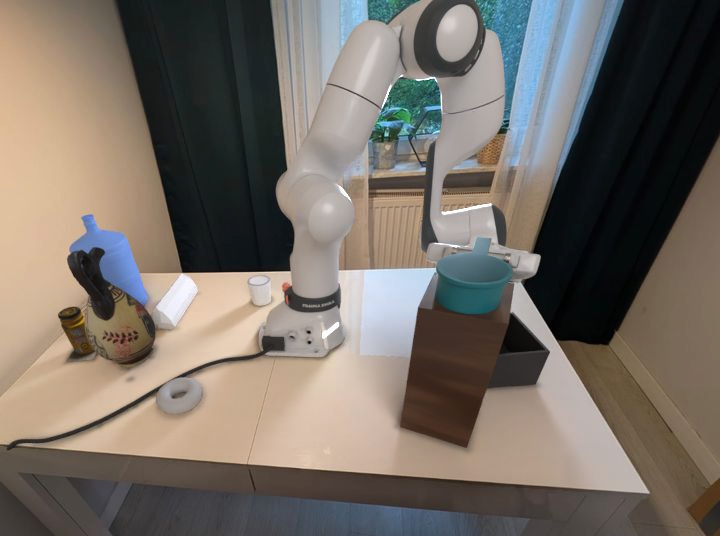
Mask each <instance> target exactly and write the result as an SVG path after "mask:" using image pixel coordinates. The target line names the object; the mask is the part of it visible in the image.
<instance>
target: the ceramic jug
mask: <svg viewBox="0 0 720 536" xmlns="http://www.w3.org/2000/svg"><path fill="white" fill-rule="evenodd" d="M104 254H105V251H104V249H102V248H98V247H93V248H92V249H91V250H90V251H89V253H86V252H85V251H83V250H80V251H74V252H72V253H70V254H68V255H67V258H66V261H67V265H68V269H69V270H70V272H71V275H72V276H73V278H74V279H75V281H76V282H78V284H79V286H81V288H82V289H83V290H84V291H85V292H86V293H87V295H88V297H87V300H86V306H85V312H84V316H85V319H84V324H85V331H86V335H87V338H88V341H89V343H90V345H91V347H92V348H93V350H94V351H95V352H96V353H97V354H96V355H98V356H100V357H101V358H103V359H105V360H106V361H111V362H113V363H116V364H118V365H119V366H121V367H123V368H125V369H126V368H127V369H128V368H132V367H135V366H138V365H140V364H142V363H144V362H146V361H147V360H148V359H150V358H151V356H152V355H153V352H154V348H153V346H154V344H155V340H156V336H157V332H156V331H157V329H156V328H155V324H154V321H153V319H152V317H151V313H150V312H149V311H148V309H146V307H145V305H144V306H143V305H142V304H141V303H140V302H139V301H138V300H136V299H135V298H134V297H132V296H131V295H129V294H128V293H126V292H125V291H123V290H122V289H120V288H118V287H116V286H114V285H112V284H111V283H110V282H108V281H107V280H105V279H104V278H103V276H102V273H101V270H100V265H99V264H100V260H101V258H102V257H103V255H104ZM81 264H82V265H81ZM82 267H83V268H82Z"/></svg>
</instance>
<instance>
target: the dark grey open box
mask: <svg viewBox="0 0 720 536" xmlns="http://www.w3.org/2000/svg"><path fill="white" fill-rule="evenodd" d="M550 353H551V350H550V349H548V347H547V346H546V345H545V344H544V342H542V341H541V340H540V339H539V338H538V336H537V335H535V333H534V332H532V331H531V330H530V328H529V327H528V326H527V325H526V324H525V323H524V321H522V320H521V319H520V318H519V317H518V315H517V314H516V313H515V312H513V311H512V312H511V311H510V318H509V324H508V327H507V330H506V333H505V336H504V339H503V342H502V345H501V348H500V351H499V354H498V357H497V360H496V363H495V366H494V369H493V372H492V375H491V378H490V381H489V384H488V387H487V390H488V389H501V388H510V387H511V388H512V387H524V386H535V385H537V383H538V381H539V379H540V376H541V374H542V371H543V369H544V367H545V365H546V363H547V360H548V358H549V356H550Z"/></svg>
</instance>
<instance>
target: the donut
mask: <svg viewBox="0 0 720 536" xmlns="http://www.w3.org/2000/svg"><path fill="white" fill-rule="evenodd" d="M172 379H173V378H172ZM170 380H171V379H170ZM168 381H169V380H168ZM168 381H166V382H167V383H166V382H165V383H166V384H164V383H163V384H164V385H163V386H162V387H161V388H160V389H159V391H158V392H156V395H155V404H156V406H157V408H158V410H160V411H161V412H162V413H165V414H167V415H181V414H186V413H187V412H189V411H191V410H193V409H194V408H195V407H197V406H198V404H199V403H200V401H201V399H202V396H203V388H202V386H201V385H200V383H199V381H197V380H195V379H193V378H191V377H187V376H185V377H183V378H176V379H173V380H171V381H169V382H168ZM180 393H185V394H184V395H183V396H181V397H177V398H173V397H175V396H176V395H179V394H180Z"/></svg>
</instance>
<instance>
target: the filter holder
mask: <svg viewBox="0 0 720 536" xmlns="http://www.w3.org/2000/svg"><path fill="white" fill-rule="evenodd" d="M491 240H492V238H483V237H476V240H475V243H474V246H473V249H472V251H471V253H458V254H452V255H448V256H446V257H443V258H442V259H440V260H439V261H438V263H437V264H435V265H436V267H435V272H437V274H438V280H437V286H436V291H435V299H436V300H437V302H438V303H439V304H440V305H442V306H443V307H445V308H447V309H449V310H452V311H455V312H458V313H464V314H484V313H488V312H491V311H493V310H495V309H496V308H497V307H498V306H499V304H500V301H501V298H502V295H503V291H504V288H505V285H506V283H510V282H509V281H510V280H511V279H512V276H513V269H512V267H511V266H510V265H509V264H508V263H507V262H505V261H503V260H501V259H499V258H496V257H493V256H489V255H488V251H489V248H490V244H491Z"/></svg>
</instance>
